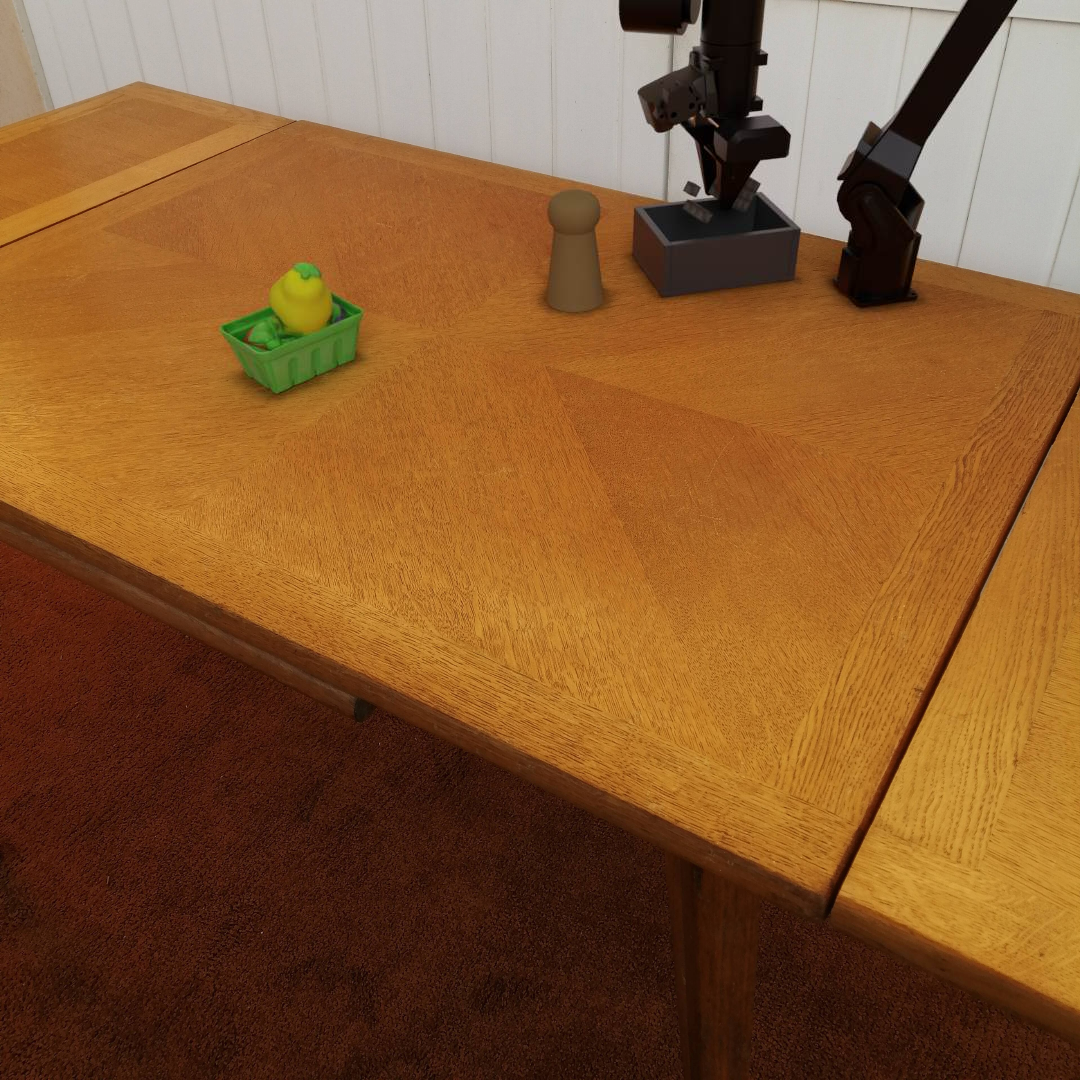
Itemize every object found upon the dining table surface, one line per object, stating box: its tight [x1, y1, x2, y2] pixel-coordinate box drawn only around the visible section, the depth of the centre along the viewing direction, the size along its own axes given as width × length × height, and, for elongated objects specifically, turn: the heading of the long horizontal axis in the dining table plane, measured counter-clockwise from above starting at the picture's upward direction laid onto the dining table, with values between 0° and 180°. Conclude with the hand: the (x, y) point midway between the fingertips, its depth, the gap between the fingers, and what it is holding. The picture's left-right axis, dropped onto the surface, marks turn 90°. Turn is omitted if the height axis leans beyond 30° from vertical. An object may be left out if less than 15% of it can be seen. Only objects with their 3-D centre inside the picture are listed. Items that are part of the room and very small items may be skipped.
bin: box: [632, 191, 802, 298], centre depth 107 cm, size 15×11×6 cm
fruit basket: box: [219, 261, 364, 395], centre depth 91 cm, size 11×9×11 cm
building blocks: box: [682, 176, 762, 224], centre depth 103 cm, size 3×6×8 cm
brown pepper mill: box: [545, 188, 605, 313], centre depth 100 cm, size 6×6×11 cm
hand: (717, 202), depth 104 cm, fingers closed on building blocks, 4 cm apart
